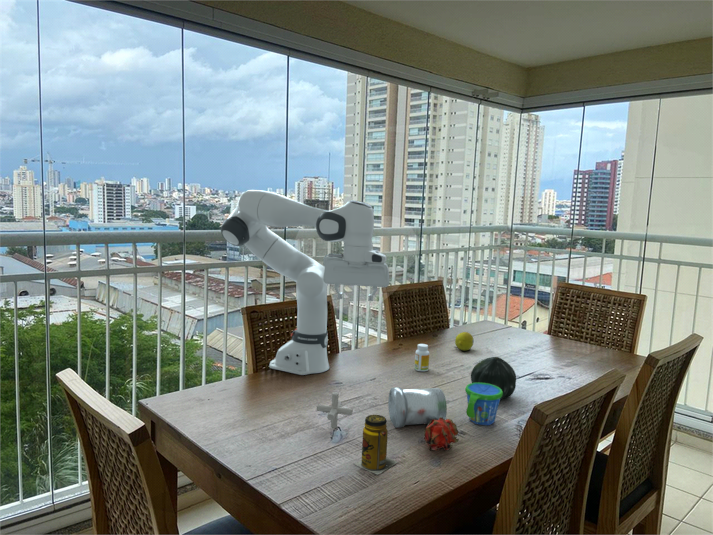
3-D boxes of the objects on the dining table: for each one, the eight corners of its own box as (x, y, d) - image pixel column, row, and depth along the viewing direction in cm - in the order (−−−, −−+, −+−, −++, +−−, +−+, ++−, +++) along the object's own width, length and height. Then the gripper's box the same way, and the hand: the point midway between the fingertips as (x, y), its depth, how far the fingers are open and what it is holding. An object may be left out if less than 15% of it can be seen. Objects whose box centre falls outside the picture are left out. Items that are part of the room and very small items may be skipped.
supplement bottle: (430, 368, 204) (431, 344, 203) (425, 372, 199) (427, 347, 198) (416, 366, 206) (418, 342, 205) (412, 370, 201) (414, 345, 200)
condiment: (353, 464, 128) (356, 417, 126) (375, 453, 134) (377, 408, 133) (377, 475, 123) (380, 427, 122) (398, 463, 130) (401, 416, 128)
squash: (490, 368, 190) (478, 343, 181) (528, 382, 180) (518, 355, 171) (470, 400, 184) (457, 375, 175) (509, 415, 174) (497, 390, 165)
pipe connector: (347, 437, 143) (349, 401, 141) (311, 432, 144) (313, 397, 143) (354, 422, 152) (356, 389, 151) (321, 417, 154) (322, 384, 153)
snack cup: (481, 434, 148) (484, 399, 147) (451, 421, 156) (453, 388, 154) (510, 420, 159) (513, 388, 158) (481, 409, 166) (483, 378, 165)
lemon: (466, 354, 226) (467, 336, 225) (450, 350, 231) (451, 332, 230) (477, 349, 235) (479, 331, 234) (461, 345, 239) (463, 328, 238)
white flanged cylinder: (399, 435, 146) (401, 397, 145) (386, 416, 159) (388, 380, 157) (447, 433, 149) (450, 395, 148) (430, 414, 162) (433, 379, 160)
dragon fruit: (453, 445, 144) (431, 467, 135) (431, 421, 147) (408, 441, 138) (470, 428, 139) (449, 450, 130) (447, 404, 142) (424, 424, 133)
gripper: (322, 253, 157) (320, 299, 158) (390, 257, 156) (388, 303, 158) (324, 251, 163) (322, 295, 165) (390, 255, 162) (387, 299, 164)
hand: (355, 299), depth 161 cm, fingers open, 8 cm apart
